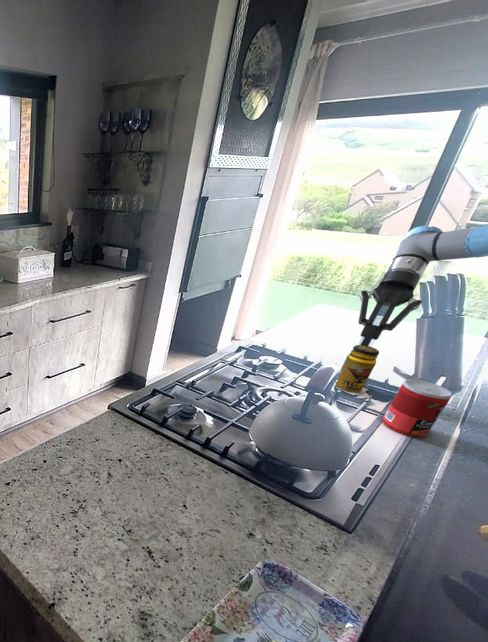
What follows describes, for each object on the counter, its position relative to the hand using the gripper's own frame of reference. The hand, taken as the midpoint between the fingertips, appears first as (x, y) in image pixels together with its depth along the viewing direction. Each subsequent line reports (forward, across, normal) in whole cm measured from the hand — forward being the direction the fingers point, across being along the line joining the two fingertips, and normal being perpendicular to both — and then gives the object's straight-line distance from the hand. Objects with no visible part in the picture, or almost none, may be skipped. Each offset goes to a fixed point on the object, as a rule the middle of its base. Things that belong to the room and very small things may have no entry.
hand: (363, 346), depth 111 cm
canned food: (+22, +14, -6) cm, 26 cm away
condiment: (+11, 0, +4) cm, 12 cm away
